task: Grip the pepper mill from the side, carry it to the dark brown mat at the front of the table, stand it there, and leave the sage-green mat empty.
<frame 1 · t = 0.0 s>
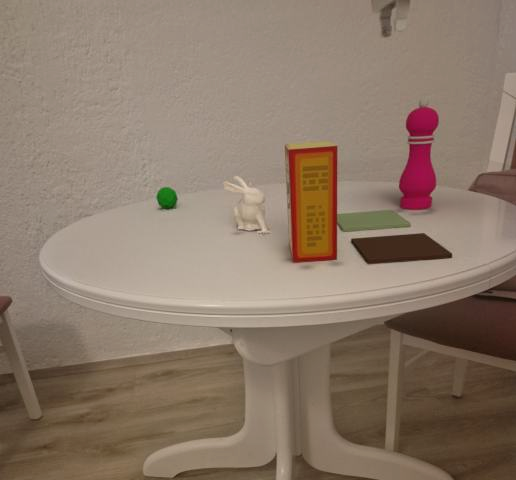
hand: (392, 34, 91), 31 cm above the table, tool pointing down, fingers open, 8 cm apart
pepper mill: (415, 207, 99), on the table
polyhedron: (168, 208, 117), on the table
baking soda box: (311, 253, 76), on the table
dark mat: (397, 249, 74), on the table
sage mat: (369, 221, 91), on the table
rabbit figurine: (247, 229, 93), on the table
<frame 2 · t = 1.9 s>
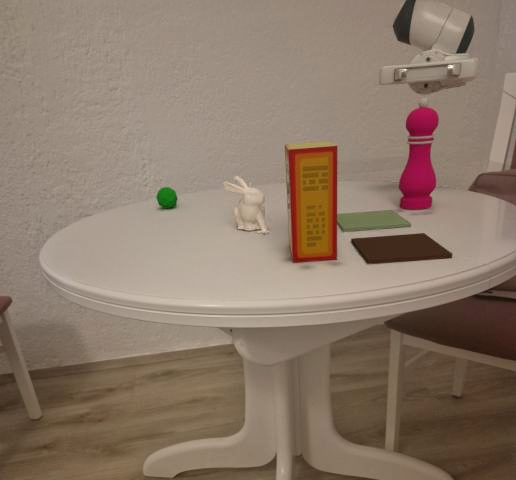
hand: (426, 71, 98), 25 cm above the table, tool horizontal, fingers open, 8 cm apart
nothing on the table moved.
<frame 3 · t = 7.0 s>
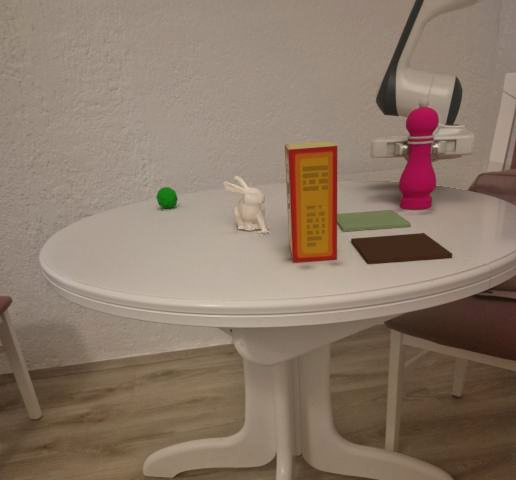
hand: (420, 149, 94), 11 cm above the table, tool horizontal, fingers closed on pepper mill, 5 cm apart
pepper mill: (415, 207, 99), on the table, touching gripper
everything else where it was.
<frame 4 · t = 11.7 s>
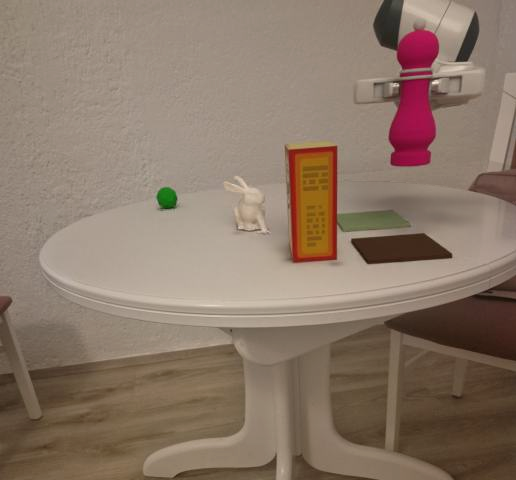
hand: (415, 87, 73), 22 cm above the table, tool horizontal, fingers closed on pepper mill, 5 cm apart
pepper mill: (409, 165, 79), point 11 cm above the table, touching gripper
everything else where it was.
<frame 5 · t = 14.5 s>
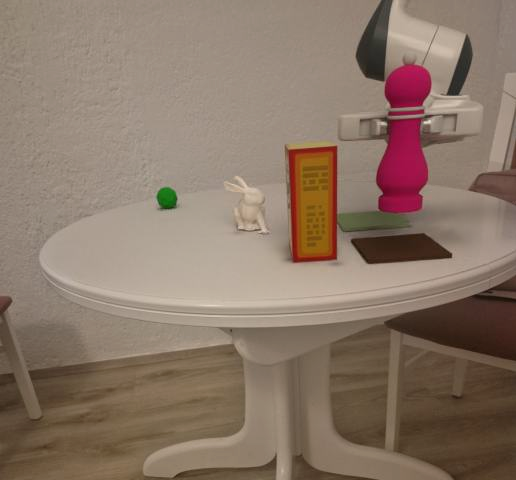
hand: (405, 127, 65), 17 cm above the table, tool horizontal, fingers closed on pepper mill, 5 cm apart
pepper mill: (399, 210, 71), point 6 cm above the table, touching gripper
everything else where it was.
when the fingers open (12 cm above the table, at t = 16.5 s): pepper mill stays where it is, resting on dark mat.
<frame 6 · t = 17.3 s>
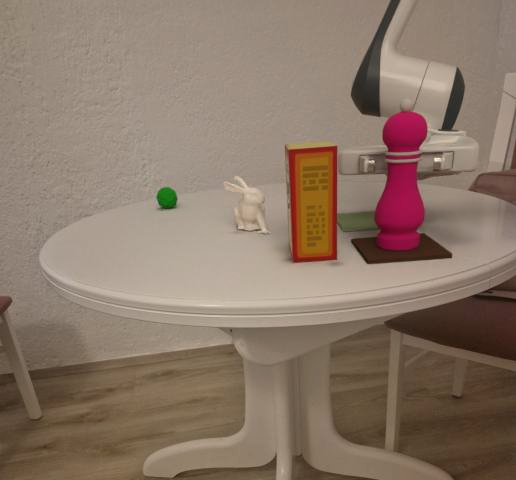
hand: (403, 165, 67), 12 cm above the table, tool horizontal, fingers open, 8 cm apart
pepper mill: (397, 246, 74), resting on dark mat
everything else where it was.
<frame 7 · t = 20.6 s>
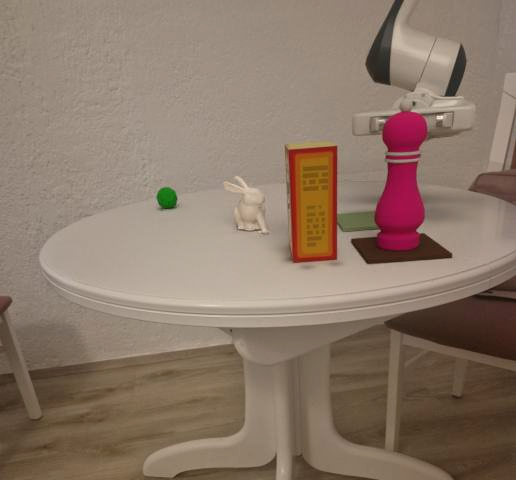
hand: (409, 123, 78), 17 cm above the table, tool horizontal, fingers open, 8 cm apart
nothing on the table moved.
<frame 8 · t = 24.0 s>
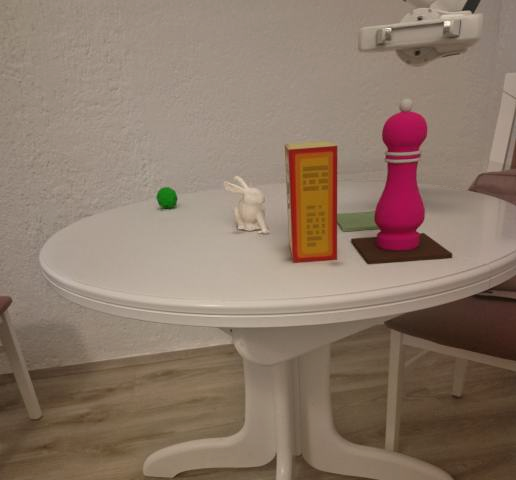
hand: (416, 30, 77), 30 cm above the table, tool horizontal, fingers open, 8 cm apart
nothing on the table moved.
at the end: pepper mill inside the target area on the dark mat (0.1 cm from its centre), point 0.4 cm above the dark mat's base; pepper mill tilted 0°; the gripper is holding nothing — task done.
